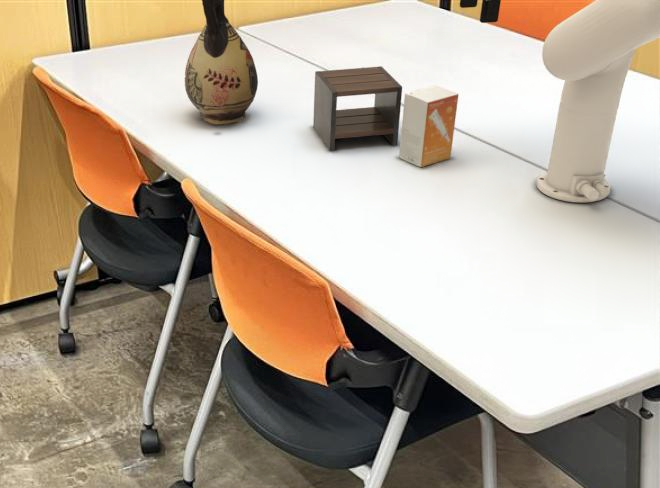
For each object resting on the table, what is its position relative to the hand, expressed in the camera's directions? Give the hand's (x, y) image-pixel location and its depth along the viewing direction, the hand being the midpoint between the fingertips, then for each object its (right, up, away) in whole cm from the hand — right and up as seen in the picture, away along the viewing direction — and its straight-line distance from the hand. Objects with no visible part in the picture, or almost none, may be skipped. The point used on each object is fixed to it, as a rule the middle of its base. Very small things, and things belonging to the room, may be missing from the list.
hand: (478, 14), depth 179 cm
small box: (-7, -24, +12) cm, 28 cm away
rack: (-19, -18, +22) cm, 34 cm away
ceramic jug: (-47, -12, +32) cm, 58 cm away
